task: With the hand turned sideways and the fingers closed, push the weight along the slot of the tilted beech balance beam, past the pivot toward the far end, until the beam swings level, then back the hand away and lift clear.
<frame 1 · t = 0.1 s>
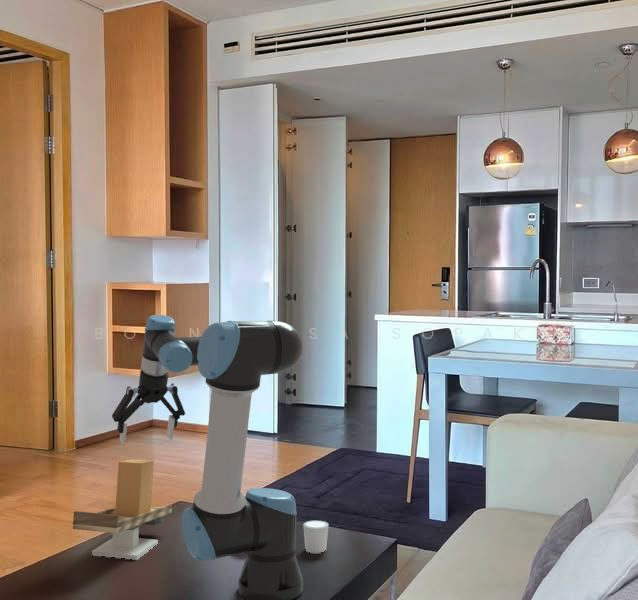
hand: (146, 439, 203), 28 cm above the table, tool tilted 20°, fingers open, 13 cm apart
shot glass: (315, 550, 196), on the table
video game controller: (247, 549, 196), on the table
weight: (133, 513, 198), point 9 cm above the table, tilted 8°, touching beam
pivot stand: (125, 549, 195), on the table
beam: (125, 517, 195), point 9 cm above the table, hinge at 8.2°, touching weight
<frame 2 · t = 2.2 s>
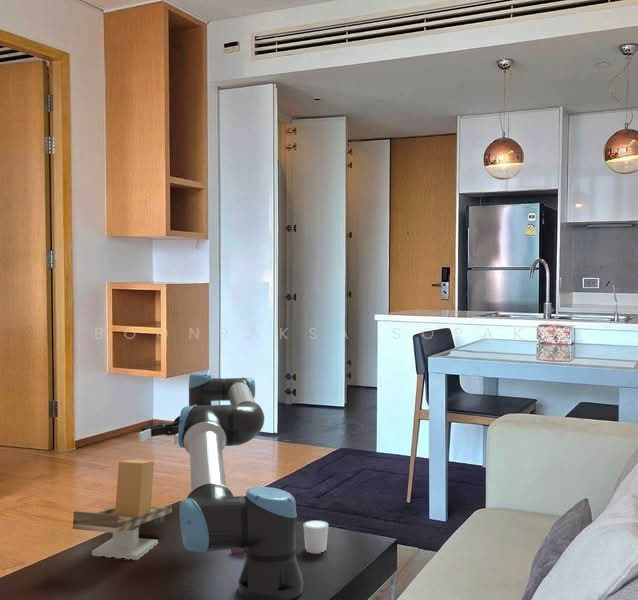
hand: (157, 438, 213), 26 cm above the table, tool horizontal, fingers open, 11 cm apart
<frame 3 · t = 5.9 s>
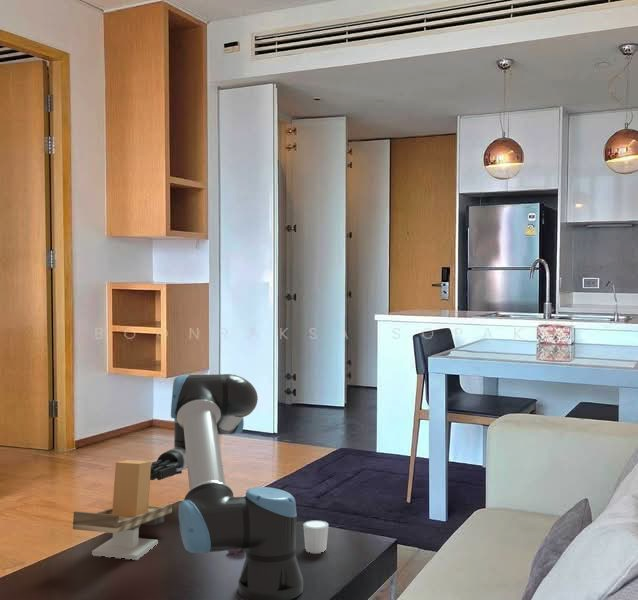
hand: (136, 481, 202), 16 cm above the table, tool horizontal, fingers closed
weight: (130, 514, 197), point 9 cm above the table, tilted 8°
beam: (125, 517, 195), point 9 cm above the table, hinge at 8.0°
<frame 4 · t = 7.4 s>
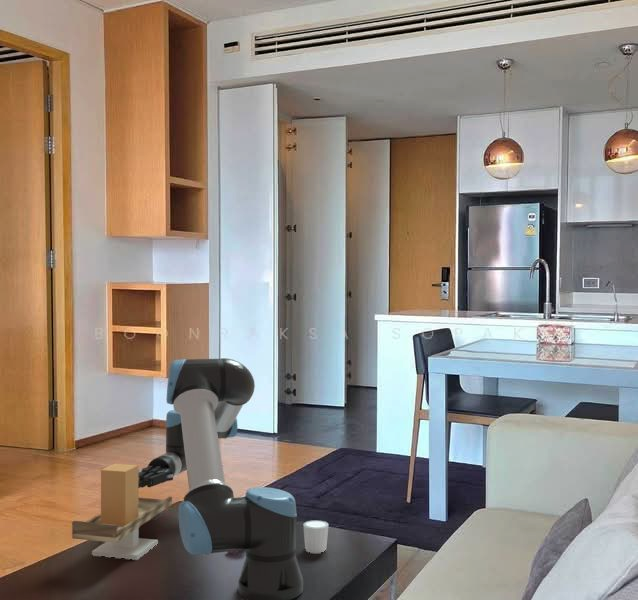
hand: (125, 489, 194), 16 cm above the table, tool horizontal, fingers closed
weight: (119, 520, 191), point 9 cm above the table, touching gripper
beam: (125, 517, 194), point 9 cm above the table, hinge at -0.2°
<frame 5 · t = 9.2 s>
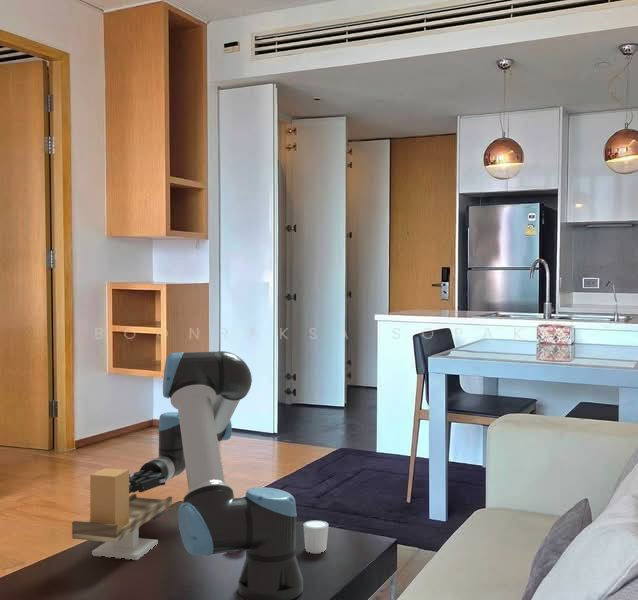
hand: (115, 494, 190), 16 cm above the table, tool horizontal, fingers closed
weight: (110, 526, 186), point 9 cm above the table, touching beam
beam: (125, 517, 194), point 9 cm above the table, hinge at -0.3°, touching weight
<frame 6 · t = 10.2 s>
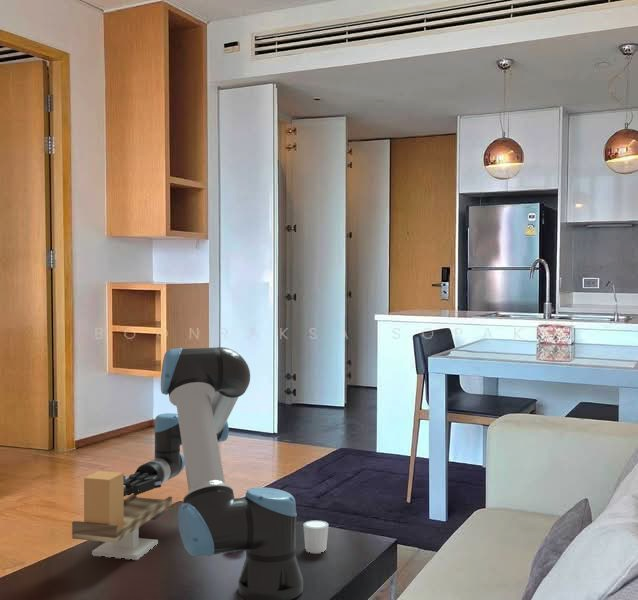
hand: (110, 497, 187), 16 cm above the table, tool horizontal, fingers closed
weight: (104, 530, 183), point 9 cm above the table, touching beam, gripper
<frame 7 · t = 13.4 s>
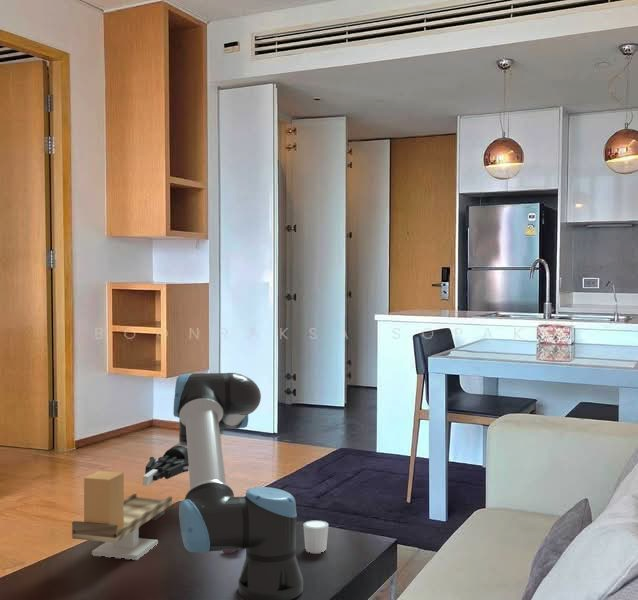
hand: (145, 481, 203), 16 cm above the table, tool horizontal, fingers closed
weight: (104, 530, 183), point 9 cm above the table, touching beam
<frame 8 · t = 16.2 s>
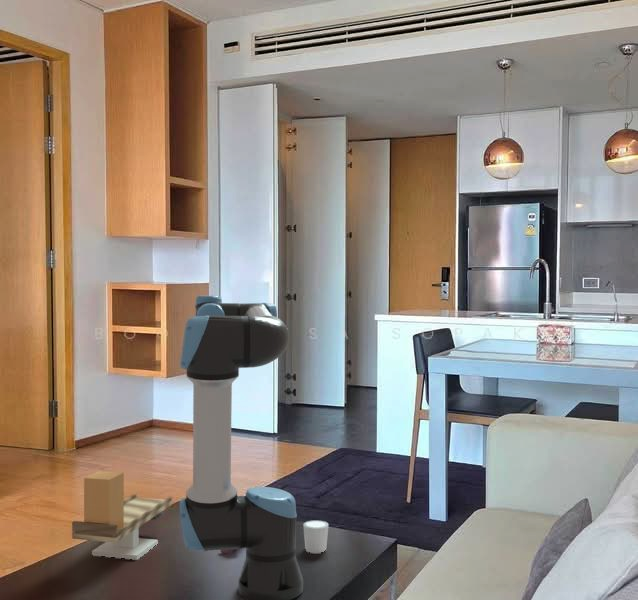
hand: (208, 429, 210), 29 cm above the table, tool pointing down, fingers closed
at the end: beam at +0° (first picture: +8°); weight inside the target area on the beam (2.7 cm from its centre), point 1.1 cm above the beam's base; weight tilted 0° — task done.
